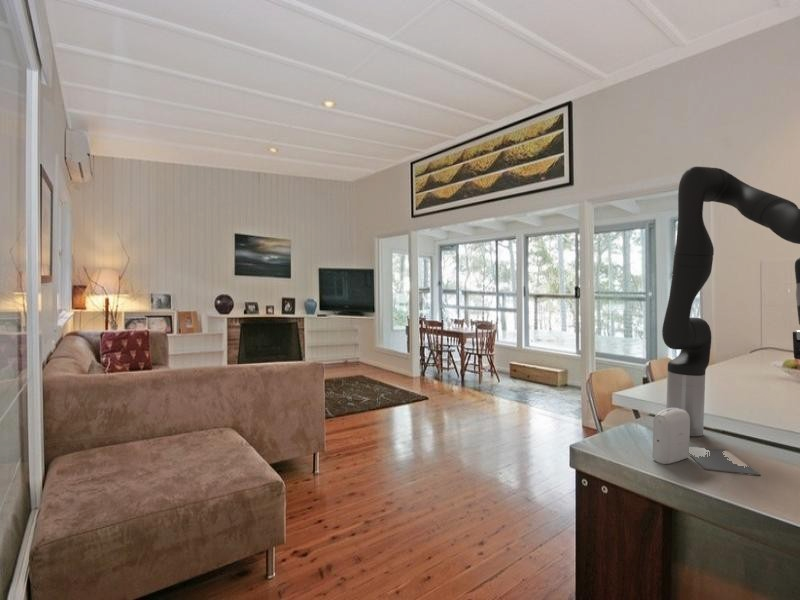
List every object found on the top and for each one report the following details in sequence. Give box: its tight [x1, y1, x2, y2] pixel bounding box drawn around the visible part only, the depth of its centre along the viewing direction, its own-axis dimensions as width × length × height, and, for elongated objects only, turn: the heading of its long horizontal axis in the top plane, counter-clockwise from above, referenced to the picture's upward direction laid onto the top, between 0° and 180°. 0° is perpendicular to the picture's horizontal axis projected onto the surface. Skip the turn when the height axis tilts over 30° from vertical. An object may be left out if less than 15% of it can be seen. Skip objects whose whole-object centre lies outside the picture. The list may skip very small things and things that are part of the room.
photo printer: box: [651, 408, 691, 465], centre depth 106 cm, size 10×4×12 cm, turn 119°
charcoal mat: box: [689, 445, 761, 477], centre depth 106 cm, size 16×11×1 cm
